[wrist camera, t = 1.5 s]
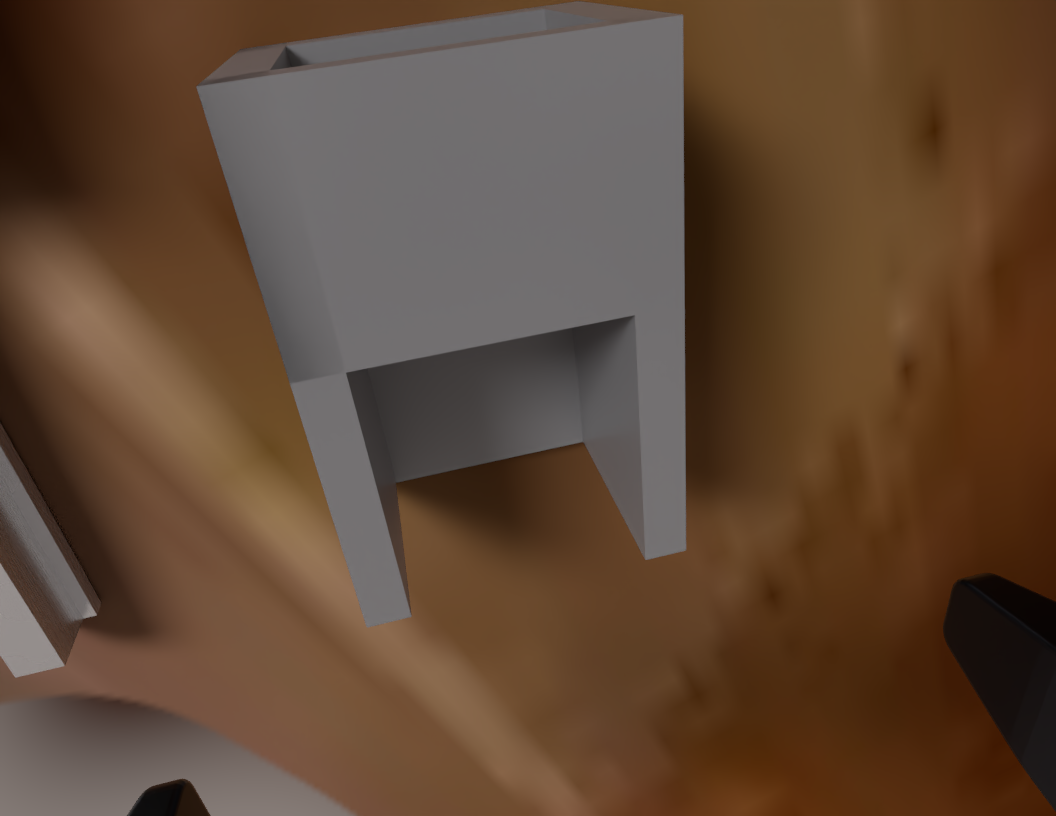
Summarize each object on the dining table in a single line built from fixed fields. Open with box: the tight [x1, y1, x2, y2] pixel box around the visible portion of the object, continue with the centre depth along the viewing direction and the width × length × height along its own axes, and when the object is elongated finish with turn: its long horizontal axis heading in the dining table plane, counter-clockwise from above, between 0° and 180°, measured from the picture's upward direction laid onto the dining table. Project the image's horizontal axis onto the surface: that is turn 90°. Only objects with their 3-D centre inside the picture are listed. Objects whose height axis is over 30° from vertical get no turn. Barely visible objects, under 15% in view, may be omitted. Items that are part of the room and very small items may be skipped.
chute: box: [196, 1, 686, 627], centre depth 14 cm, size 6×9×5 cm, turn 7°
